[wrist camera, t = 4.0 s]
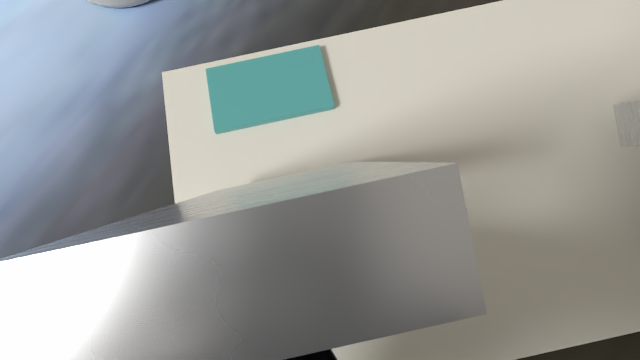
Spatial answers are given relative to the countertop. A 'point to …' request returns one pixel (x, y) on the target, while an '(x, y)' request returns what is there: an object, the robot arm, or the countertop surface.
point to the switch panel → (456, 153)
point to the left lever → (253, 271)
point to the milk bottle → (117, 3)
